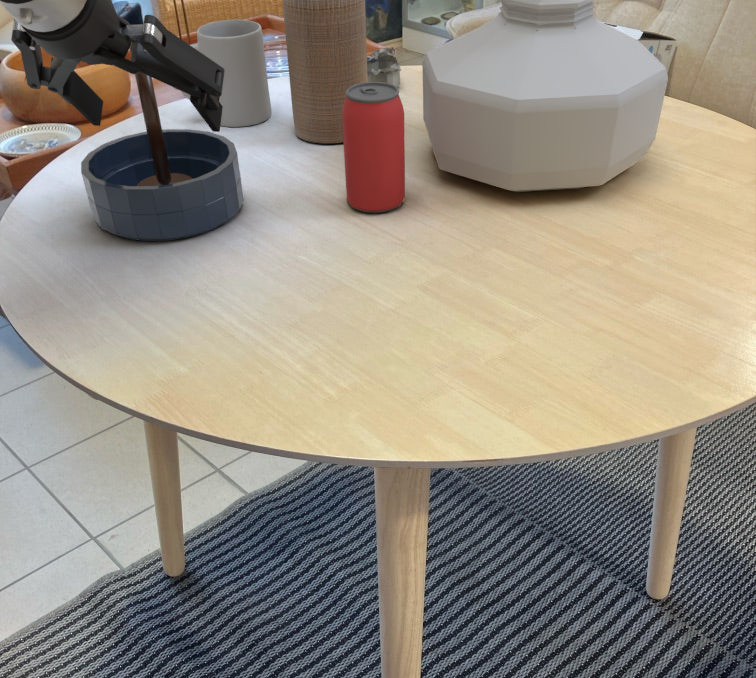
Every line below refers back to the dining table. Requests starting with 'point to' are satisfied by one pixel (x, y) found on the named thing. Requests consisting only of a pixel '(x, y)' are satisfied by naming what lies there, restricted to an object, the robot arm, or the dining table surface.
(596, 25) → the pot
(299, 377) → the dining table surface
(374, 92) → the beer can
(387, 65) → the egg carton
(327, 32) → the vase
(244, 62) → the mug
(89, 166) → the bowl
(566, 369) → the dining table surface
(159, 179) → the brown handled stamp
